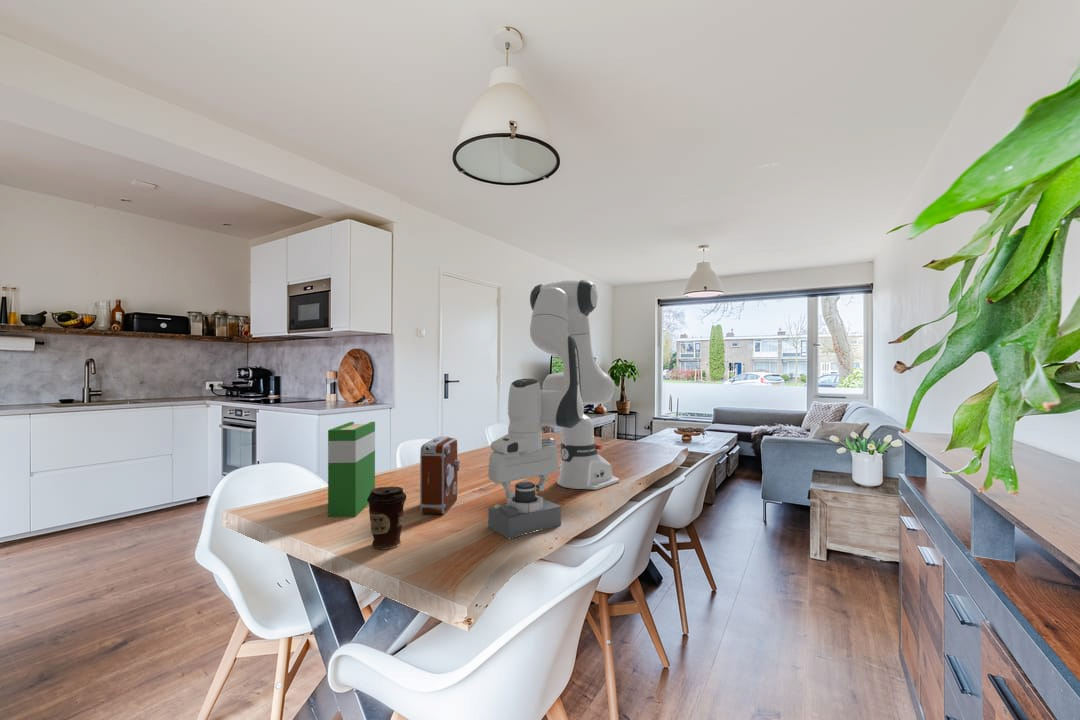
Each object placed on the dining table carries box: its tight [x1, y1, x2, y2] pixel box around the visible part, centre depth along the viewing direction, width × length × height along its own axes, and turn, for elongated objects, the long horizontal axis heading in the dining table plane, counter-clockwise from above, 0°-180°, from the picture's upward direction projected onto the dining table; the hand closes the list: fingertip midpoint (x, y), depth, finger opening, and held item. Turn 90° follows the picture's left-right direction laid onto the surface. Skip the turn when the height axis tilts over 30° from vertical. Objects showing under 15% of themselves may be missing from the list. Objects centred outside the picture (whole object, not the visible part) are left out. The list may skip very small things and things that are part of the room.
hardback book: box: [327, 421, 376, 518], centre depth 135 cm, size 18×7×24 cm, turn 3°
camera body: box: [487, 494, 562, 539], centre depth 119 cm, size 16×10×7 cm, turn 126°
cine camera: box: [419, 436, 461, 515], centre depth 137 cm, size 9×19×20 cm, turn 174°
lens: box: [514, 481, 536, 503], centre depth 120 cm, size 5×5×6 cm
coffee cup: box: [367, 486, 407, 550], centre depth 107 cm, size 9×8×13 cm
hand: (525, 494), depth 120 cm, fingers open, 8 cm apart
